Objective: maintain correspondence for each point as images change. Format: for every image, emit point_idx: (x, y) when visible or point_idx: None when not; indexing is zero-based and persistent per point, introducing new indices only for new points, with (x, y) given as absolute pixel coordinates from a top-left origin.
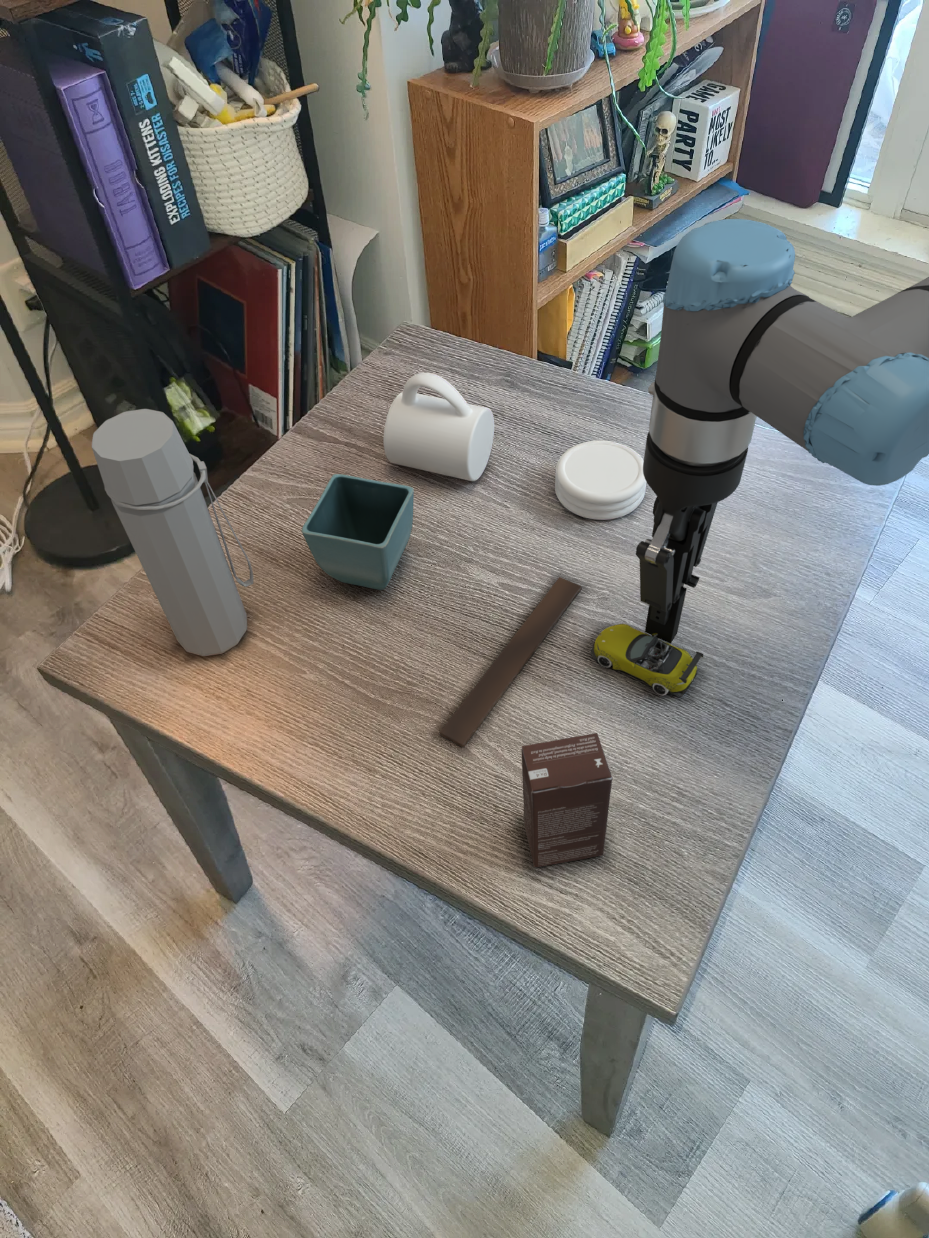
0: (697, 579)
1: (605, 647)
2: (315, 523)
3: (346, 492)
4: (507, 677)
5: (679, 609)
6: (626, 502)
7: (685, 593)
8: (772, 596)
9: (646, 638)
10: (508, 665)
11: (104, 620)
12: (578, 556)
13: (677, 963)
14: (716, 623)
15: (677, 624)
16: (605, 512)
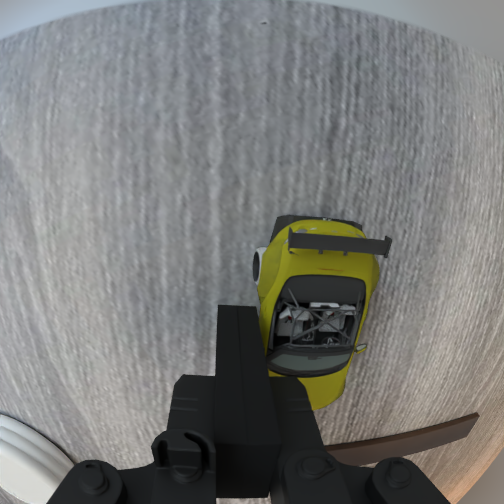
0: (167, 450)
1: (327, 401)
2: None
3: None
4: (396, 443)
5: (250, 384)
6: (22, 447)
7: (218, 423)
8: (3, 154)
9: (286, 362)
10: (377, 452)
11: None
12: (135, 461)
13: None
14: (116, 228)
15: (234, 333)
16: (52, 457)
